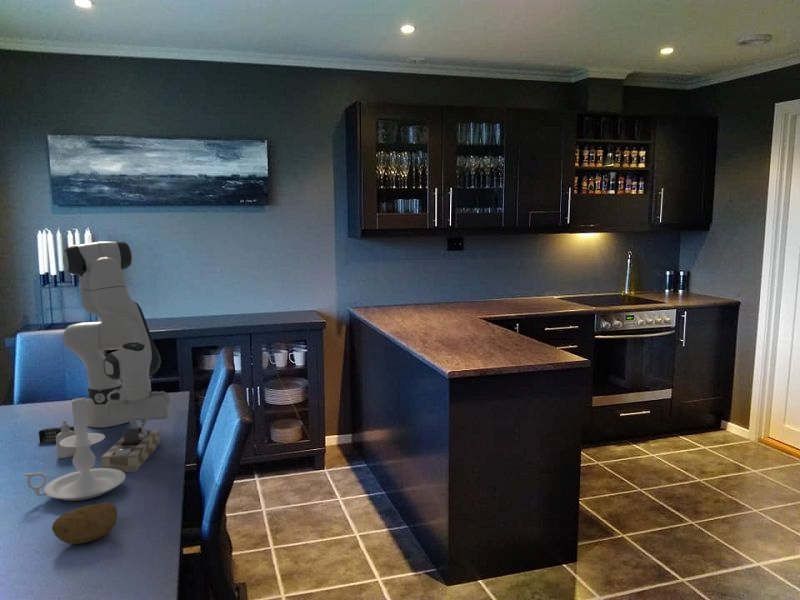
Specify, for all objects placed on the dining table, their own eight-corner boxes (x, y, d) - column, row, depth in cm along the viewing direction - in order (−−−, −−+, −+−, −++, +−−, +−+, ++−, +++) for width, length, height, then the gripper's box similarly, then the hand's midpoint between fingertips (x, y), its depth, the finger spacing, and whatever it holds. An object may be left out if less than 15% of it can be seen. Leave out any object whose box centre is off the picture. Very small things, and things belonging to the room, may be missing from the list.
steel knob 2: (135, 444, 212) (134, 429, 211) (149, 443, 212) (148, 429, 212) (131, 449, 208) (130, 434, 207) (145, 448, 208) (144, 433, 207)
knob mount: (129, 445, 214) (128, 431, 213) (159, 444, 214) (158, 430, 214) (102, 473, 190) (101, 457, 189) (136, 471, 191) (135, 455, 190)
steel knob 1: (118, 461, 196) (117, 446, 196) (134, 461, 197) (133, 446, 196) (113, 467, 192) (112, 451, 191) (129, 466, 192) (127, 451, 191)
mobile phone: (37, 431, 216) (84, 426, 219) (40, 428, 218) (86, 423, 222) (39, 444, 216) (85, 440, 219) (42, 441, 219) (88, 437, 222)
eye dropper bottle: (76, 457, 203) (73, 421, 202) (56, 459, 201) (53, 423, 200) (77, 452, 207) (75, 417, 206) (58, 454, 205) (56, 419, 204)
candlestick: (28, 490, 178) (19, 395, 175) (122, 473, 190) (116, 383, 186) (25, 520, 160) (16, 414, 157) (130, 498, 172) (123, 399, 169)
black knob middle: (127, 443, 204) (126, 428, 203) (141, 443, 204) (140, 428, 204) (122, 448, 199) (121, 433, 199) (136, 448, 200) (135, 432, 199)
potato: (51, 540, 149) (48, 509, 148) (114, 524, 157) (112, 494, 156) (56, 558, 141) (53, 525, 140) (122, 540, 149) (120, 508, 148)
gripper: (171, 388, 211) (173, 427, 213) (109, 390, 210) (111, 430, 211) (166, 393, 205) (168, 434, 207) (101, 395, 204) (104, 436, 205)
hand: (139, 432), depth 209 cm, fingers closed, pressing on steel knob 2
